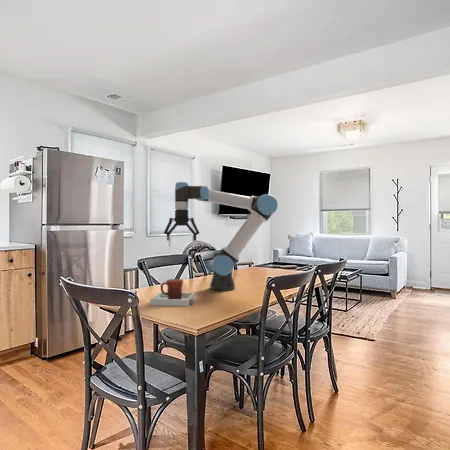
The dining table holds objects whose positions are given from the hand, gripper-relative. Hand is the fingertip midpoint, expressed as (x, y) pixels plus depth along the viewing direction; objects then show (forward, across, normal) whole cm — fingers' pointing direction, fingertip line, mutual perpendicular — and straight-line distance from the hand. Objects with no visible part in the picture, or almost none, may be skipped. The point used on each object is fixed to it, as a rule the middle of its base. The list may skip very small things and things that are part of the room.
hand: (181, 246), depth 204 cm
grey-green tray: (+27, 0, +22) cm, 35 cm away
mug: (+26, 0, +22) cm, 35 cm away
